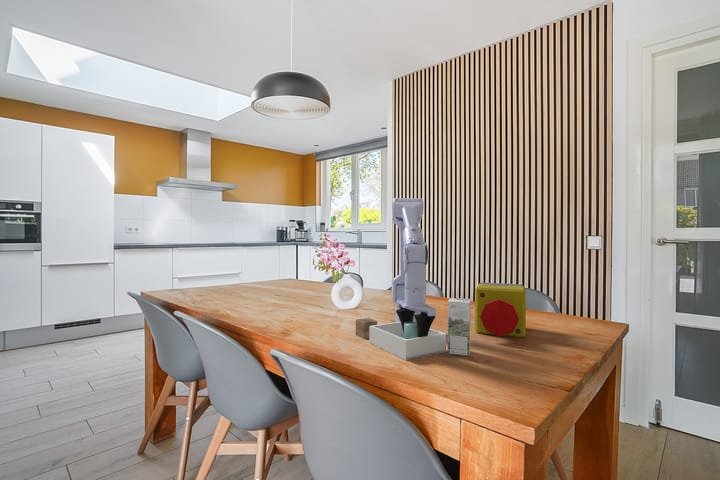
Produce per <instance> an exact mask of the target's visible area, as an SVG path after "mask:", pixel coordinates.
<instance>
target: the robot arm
mask: <svg viewBox="0 0 720 480" xmlns="http://www.w3.org/2000/svg"><path fill="white" fill-rule="evenodd" d="M391 208H392V209H391V212H392V213H391V214H392V215H391V217H392V221H393V222H392V223H393V224H395V225H396V226H397V227H398V230H399V274H398V275H396V276H395V277H394V278H393V279H392V281H391V302H393V303H394V304H395V322H401V325H402V329H403V333H404V323H405V322H417V326H418V337H424V336H428V333H429V329H431V326H432V325H433V323H434V320H435V319H436V316H437V315H436V314H437V308H436V307H433V306H431V305H429V304H427V265H428V262H429V256H430V255H429V247H428V244H427V243H426V241H425V240H424V234H423V230H422V228H421V227H420V226H418V224H420V223H421V221H422V217H423V215H424V200H423V198H422V197H418V198H417V197H415V198H413V197H409V198H408V197H406V198H405V197H402V198H401V197H399V198H398V197H394V198H393V199H392V204H391Z"/></svg>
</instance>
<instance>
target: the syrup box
mask: <svg viewBox="0 0 720 480" xmlns="http://www.w3.org/2000/svg"><path fill="white" fill-rule="evenodd" d="M471 300H472V299H471V298H458V297H456V298H455V297H449V298H448V301H447V354H448V355H450V356H451V355H452V356H459V357H460V356H462V357H471V356H470V355H471V316H472V314H471V313H472V310H471V309H472V306H471V305H472V304H471V303H472V301H471Z"/></svg>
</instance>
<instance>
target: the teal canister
mask: <svg viewBox="0 0 720 480" xmlns="http://www.w3.org/2000/svg"><path fill="white" fill-rule="evenodd" d="M412 338H418V326H417V322H405V323H404V339H412Z"/></svg>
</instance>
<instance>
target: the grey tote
mask: <svg viewBox="0 0 720 480" xmlns="http://www.w3.org/2000/svg"><path fill="white" fill-rule="evenodd" d="M368 339H369V344H371V345H373V346H375V347H377V348H379V349H381V350H383V351H385V352H387V353H389V354H392V355H393V356H396V357H398V358H400V359H402V360H404V361H409V360H414V359H420V358H425V357H429V356H434V355H438V354H443V353H447V333H445V332H441V331H439V330H437V329H436V330H435V329H432V328H430V329H429V333H428V336H424V337H418V338H412V339H404V333H403V329H402V325H401V322H396V321H395V322H390V323H389V322H388V323H382V324H377V325H373V326H369V338H368Z"/></svg>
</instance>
